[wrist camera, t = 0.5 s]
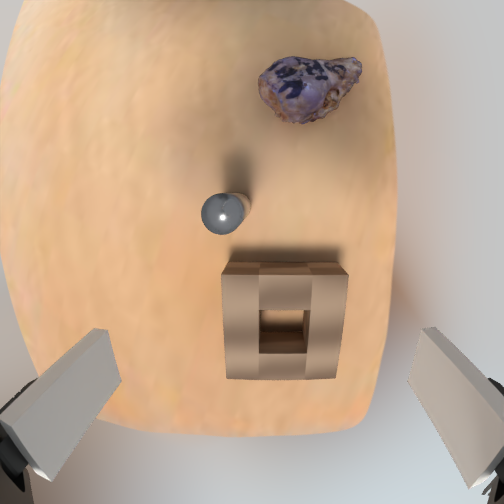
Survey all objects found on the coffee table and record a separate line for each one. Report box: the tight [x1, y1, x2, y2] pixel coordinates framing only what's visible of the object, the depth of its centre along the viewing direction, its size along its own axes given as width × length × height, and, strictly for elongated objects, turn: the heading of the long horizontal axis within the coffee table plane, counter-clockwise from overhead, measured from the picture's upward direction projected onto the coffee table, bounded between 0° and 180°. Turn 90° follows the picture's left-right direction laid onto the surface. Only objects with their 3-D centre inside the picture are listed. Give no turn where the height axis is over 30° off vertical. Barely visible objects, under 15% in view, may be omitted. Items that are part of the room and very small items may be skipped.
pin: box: [201, 193, 251, 235], centre depth 26 cm, size 3×3×10 cm
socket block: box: [221, 262, 349, 380], centre depth 30 cm, size 12×12×5 cm
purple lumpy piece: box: [258, 56, 362, 124], centre depth 24 cm, size 12×8×6 cm, turn 111°
